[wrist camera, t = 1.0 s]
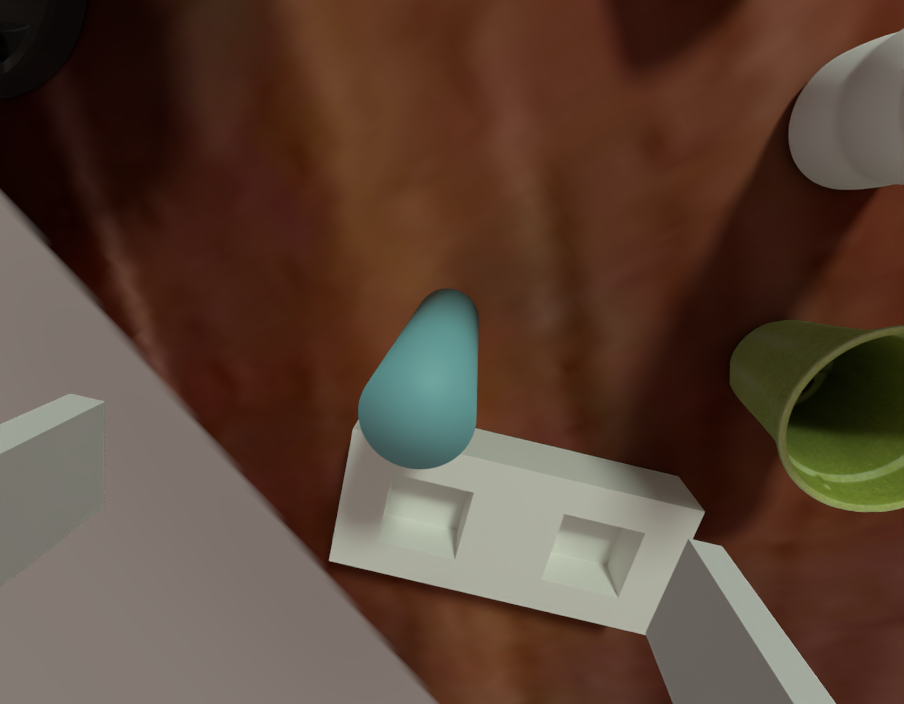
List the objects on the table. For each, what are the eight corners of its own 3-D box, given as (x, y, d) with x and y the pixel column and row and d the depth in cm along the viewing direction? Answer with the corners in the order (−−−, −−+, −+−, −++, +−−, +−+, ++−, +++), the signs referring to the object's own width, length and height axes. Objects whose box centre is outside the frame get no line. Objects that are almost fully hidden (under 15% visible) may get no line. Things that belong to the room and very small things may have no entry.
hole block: (368, 402, 32) (353, 428, 28) (678, 476, 32) (705, 511, 28) (345, 522, 35) (328, 560, 31) (629, 589, 35) (648, 635, 31)
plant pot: (776, 458, 31) (881, 546, 23) (667, 382, 30) (738, 445, 22) (888, 349, 29) (1052, 404, 21) (774, 262, 28) (899, 283, 20)
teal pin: (423, 282, 29) (369, 347, 15) (485, 297, 29) (489, 376, 15) (411, 341, 31) (349, 454, 16) (470, 355, 31) (461, 480, 16)
